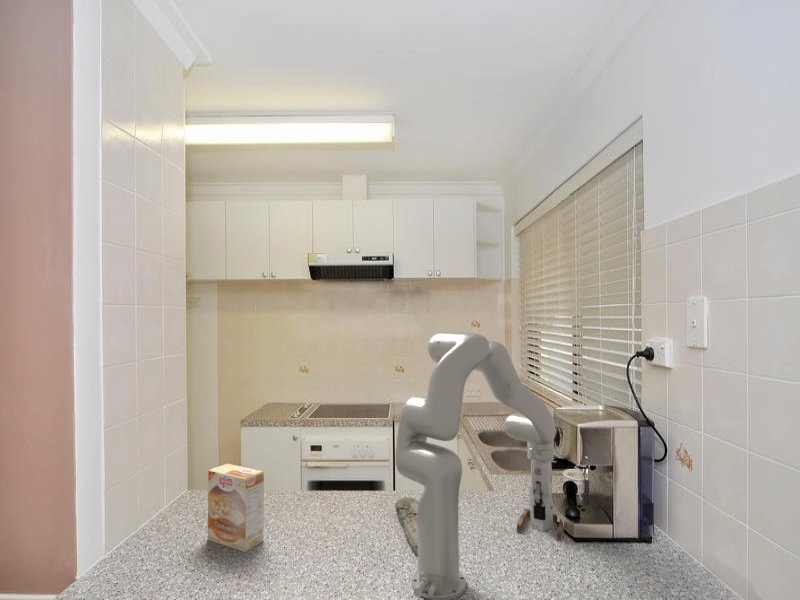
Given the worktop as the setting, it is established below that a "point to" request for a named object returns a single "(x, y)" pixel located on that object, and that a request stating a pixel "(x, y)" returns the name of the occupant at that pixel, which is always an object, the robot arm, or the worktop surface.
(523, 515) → the lane rack
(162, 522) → the worktop surface
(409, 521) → the long grey stone
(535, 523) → the skincare box
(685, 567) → the worktop surface
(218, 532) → the coffeecake box
